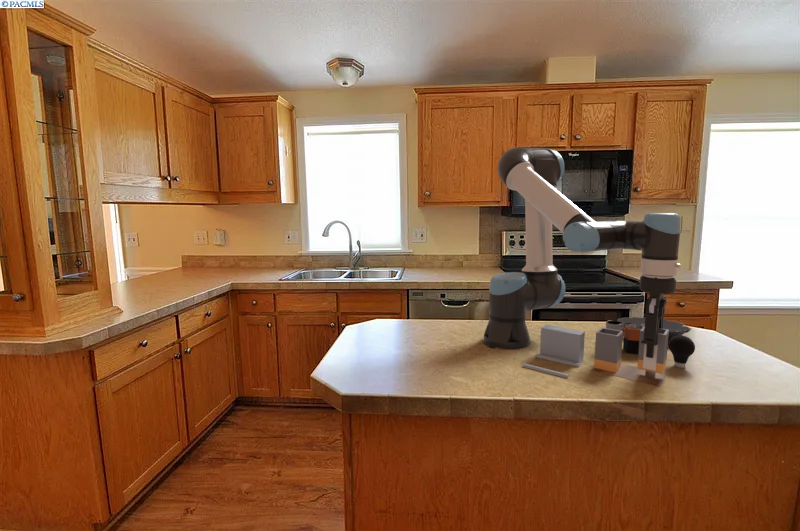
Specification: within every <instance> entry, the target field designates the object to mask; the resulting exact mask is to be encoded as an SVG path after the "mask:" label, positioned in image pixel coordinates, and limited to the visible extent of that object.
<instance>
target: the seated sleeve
mask: <svg viewBox="0 0 800 531" xmlns="http://www.w3.org/2000/svg"><path fill="white" fill-rule="evenodd" d="M623 341H624V330H623V331H619V330H613V329H607V328H606V327H600V328H599V329H598V330H596V331H595V344H594V358H593V359H594V361H593V367H594V368H598V369H602V370H607V371H611V372H615V373H616V372H617V371H618V369H619V368H620V367H621V364H622V353H623V352H622V351H623Z"/></svg>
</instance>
